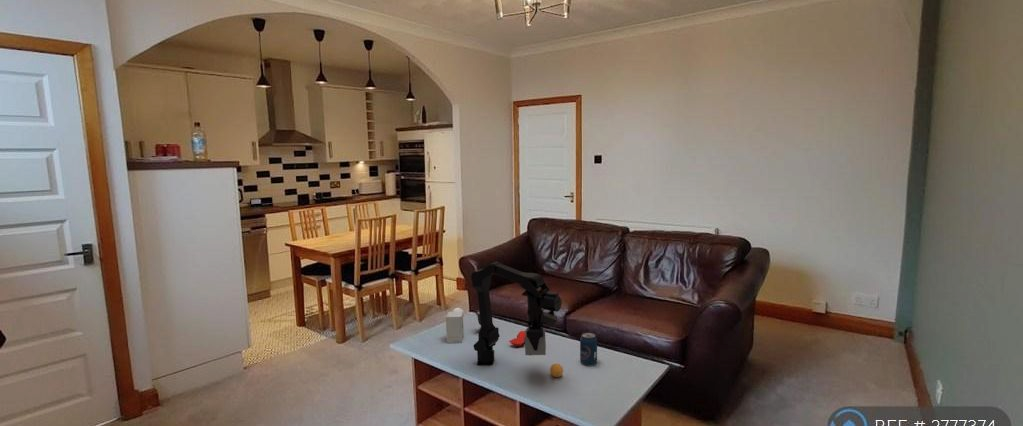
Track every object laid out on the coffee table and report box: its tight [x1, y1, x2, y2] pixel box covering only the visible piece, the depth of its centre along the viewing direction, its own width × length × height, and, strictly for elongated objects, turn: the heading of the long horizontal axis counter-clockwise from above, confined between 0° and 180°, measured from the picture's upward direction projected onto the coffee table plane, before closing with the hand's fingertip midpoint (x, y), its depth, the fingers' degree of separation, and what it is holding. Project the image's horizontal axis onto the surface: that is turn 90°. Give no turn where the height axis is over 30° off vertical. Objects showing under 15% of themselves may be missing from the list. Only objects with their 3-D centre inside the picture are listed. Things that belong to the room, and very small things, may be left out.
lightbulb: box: [451, 307, 465, 318], centre depth 239 cm, size 6×6×11 cm
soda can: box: [579, 332, 598, 367], centre depth 199 cm, size 7×7×12 cm
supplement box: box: [445, 311, 465, 344], centre depth 226 cm, size 7×7×13 cm
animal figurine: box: [508, 330, 525, 348], centre depth 220 cm, size 12×15×5 cm
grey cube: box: [524, 328, 547, 356], centre depth 187 cm, size 8×8×7 cm
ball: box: [549, 362, 564, 378], centre depth 188 cm, size 5×5×5 cm
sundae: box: [475, 308, 481, 334], centre depth 233 cm, size 7×7×15 cm
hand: (536, 346), depth 187 cm, fingers closed on grey cube, 8 cm apart
